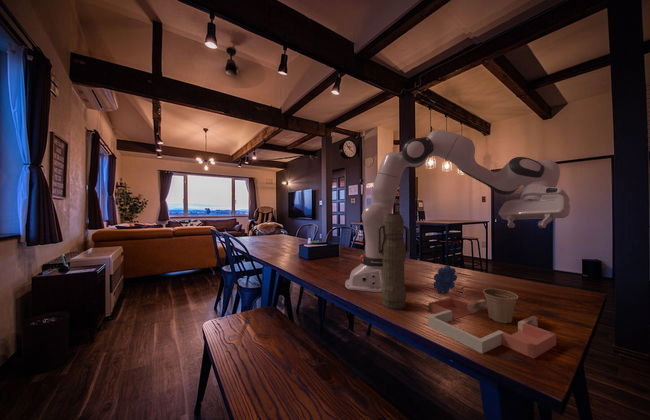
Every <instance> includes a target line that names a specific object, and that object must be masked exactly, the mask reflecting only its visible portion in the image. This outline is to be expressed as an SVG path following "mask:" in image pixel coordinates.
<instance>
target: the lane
mask: <svg viewBox="0 0 650 420" xmlns="http://www.w3.org/2000/svg"><path fill="white" fill-rule="evenodd" d="M468 303H469V304H467V312H469V313H471V314H474V313H478V312H480V311H483V310H485V309H487V302H486V299H479V300H476V301H472V302H468ZM471 314H470V315H471ZM538 320H539V319H538V316H535V315H531V316H529V317H526V318H524V319H522V320H520V321H518V322H517V332H520V333H523V324H524V323H526V324H529V325H532V326H535V327H538V325H539V324H538V322H539V321H538ZM538 328H539V327H538Z"/></svg>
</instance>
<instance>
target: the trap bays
mask: <svg viewBox="0 0 650 420" xmlns="http://www.w3.org/2000/svg"><path fill="white" fill-rule="evenodd" d="M469 303H470V302H466V301H463V300H461V299H458V298H455V297H452V296H449V297H446V298H441V299H438V300H435V301H431V302H429V303H428V312H429V313H431V314H432V315H433V314H437V313H440V312H443V311H446V310H451V311H452V320H451V321H453V320H457V319H459V318H463V317H465V316H469V315H471V313H469V312H467V304H469ZM503 332H504V331H503ZM501 345H503V346H504V347H507V348H509V349H512V350H514V351H516V352H517V353H520V354H523V355H524V356H527V357H529V358H531V359H534V360H535V359H536V358H537V357H540V356H541V355H542V354H544V353H546V352H547V351H549V350H550V349H553V348H554V347H556V345H557V334H556V333H555V332H552V331H548V330H546V329H544V328H540V327H535V326H532V325H529V324H526V323H524V324H523V333H520V332H518V331H516V332H514V333H512V334H509V333H507V332H504V333H502V344H501Z"/></svg>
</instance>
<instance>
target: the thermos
mask: <svg viewBox="0 0 650 420" xmlns="http://www.w3.org/2000/svg"><path fill="white" fill-rule="evenodd" d="M404 221H405V220H404V218H403V216H402V214H400V213H392V214H387V215H385V217H384V220H383V225H382V226H379V228H378V229H377V239H378V253H381V254H382V260H383V284H382V292H381V299H382V301H381V305H382V306H383V307H384V306H385V307H384V308H386V307H387V309H389V308H390V310H402V309H405V308H406V305H407V304H406V300H407V287H406V286H405V262H406V259H407V258H406V254H408V253H409V252H410V229H409V227H408V226H406V225H405V223H404ZM381 228H383V234H384V237H383V242H382V249H381ZM404 234H405V237H404ZM404 238H405V239H404Z"/></svg>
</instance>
